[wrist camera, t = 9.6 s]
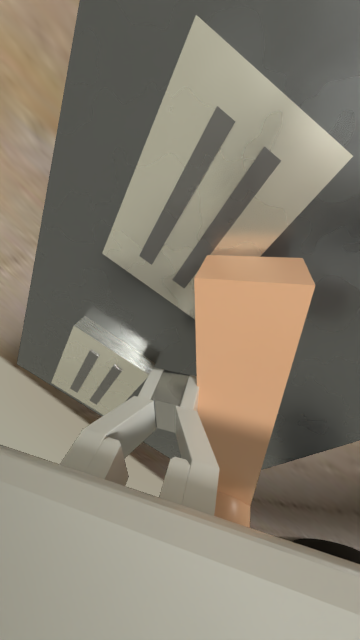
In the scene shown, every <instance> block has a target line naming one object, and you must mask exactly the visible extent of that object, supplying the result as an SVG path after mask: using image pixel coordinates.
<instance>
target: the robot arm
mask: <svg viewBox="0 0 360 640" xmlns="http://www.w3.org/2000/svg"><path fill="white" fill-rule="evenodd" d="M198 395H199V387H198V386H197V376H193V375H188V374H183V373H178V372H173V371H168V370H164V369H159V368H155V367H154V368H153V369H152V370H151V371H150V373H149V375H148V377H147V379H146V381H145V383H144V385H143V387H142V389H141V391H140V393H139V395H138V397H137V396H133V397H132V398H130V399H129V400H127V401H126V402H124V403H122V404H121V405H119V406H118V407H116V408H115V409H113V410H112V411H110V412H108V413H107V414H105V415H104V416H102V417H101V418H99V419H98V420H96V421H94V422H93V423H91V424H90V425H88V426H87V427H85V428H84V429H83V430H82V431H81V433H80V435H79V436H78V437H77V439H76V440H75V442H74V443H73V445H72V447H71V448H70V449H69V451H68V452H67V454H66V456H65V457H64V459H63V460H62V462H61V463H60V464H57V463H53V462H51V461H48V460H45V459H42V458H39V457H36V456H33V455H30V454H27V453H24V452H21V451H18V450H15V449H12V448H9V447H6V446H3V445H0V640H360V564H357V563H354V562H351V561H348V560H345V559H342V558H339V557H336V556H333V555H330V554H327V553H324V552H321V551H318V550H315V549H312V548H309V547H306V546H303V545H300V544H297V543H294V542H291V541H288V540H285V539H282V538H279V537H276V536H273V535H270V534H267V533H264V532H261V531H258V530H255V529H252V528H249V527H246V526H243V525H240V524H237V523H234V522H231V521H228V520H225V519H222V518H219V517H216V516H214V513H215V504H216V495H217V486H218V478H219V469H220V468H219V466H218V463H217V461H216V458H215V456H214V453H213V451H212V448H211V445H210V443H209V440H208V438H207V435H206V433H205V430H204V427H203V425H202V422H201V420H200V417H199V415H198V409H197V408H198ZM156 428H159V429H163V430H167V431H170V432H174V433H176V437H177V442H178V446H179V450H180V454H181V458H178V457H173V458H172V459H170V462H169V465H168V469H167V472H166V475H165V479H164V482H163V486H162V489H161V492H160V496H159V497H156V496H153V495H150V494H147V493H144V492H141V491H138V490H135V489H132V488H129V487H126V486H125V485H126V482H127V480H128V477H129V476H128V472H127V468H126V464H125V460H124V459H125V458H126V457H127V456H128V455H129V454H130V453H131V452H132V451H133V450H134V449H135V448H136V447H138V446H139V445H140V444H141V443H142V442H143V441H144V440H145V439H146V438H147V437H148V436H149V435H150V434H152V433H153V432H154V431H155V430H156Z"/></svg>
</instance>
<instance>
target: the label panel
mask: <svg viewBox="0 0 360 640" xmlns="http://www.w3.org/2000/svg"><path fill="white" fill-rule="evenodd" d="M207 255H224V256H256V257H287V258H303V260H304V262H305V264H306V266H307V268H308V270H309V272H310V275H311V277H312V279H313V281H314V283H315V289H314V292H313V295H312V299H311V302H310V306H309V309H308V312H307V316H306V319H305V322H304V326H303V329H302V333H301V336H300V339H299V343H298V346H297V350H296V353H295V356H294V360H293V363H292V366H291V370H290V373H289V377H288V380H287V383H286V387H285V390H284V394H283V397H282V400H281V404H280V407H279V410H278V414H277V417H276V421H275V424H274V427H273V431H272V434H271V438H270V441H269V444H268V448H267V451H266V454H265V458H264V461H263V465H262V468H261V470H263V469H266V468H269V467H273V466H276V465H279V464H283V463H286V462H289V461H293V460H296V459H299V458H303V457H306V456H309V455H313V454H316V453H319V452H323V451H326V450H329V449H333V448H336V447H339V446H343V445H346V444H349V443H353V442H356V441H359V440H360V0H80V3H79V8H78V14H77V20H76V26H75V32H74V37H73V43H72V49H71V55H70V60H69V66H68V72H67V78H66V83H65V89H64V95H63V101H62V107H61V112H60V118H59V124H58V130H57V135H56V141H55V147H54V153H53V158H52V164H51V170H50V176H49V182H48V187H47V193H46V199H45V205H44V210H43V216H42V222H41V228H40V234H39V239H38V245H37V251H36V257H35V262H34V268H33V274H32V280H31V285H30V291H29V297H28V303H27V309H26V314H25V320H24V326H23V332H22V337H21V343H20V349H19V355H18V360H17V364H18V365H19V366H21V367H23V368H24V369H26V370H27V371H29V372H31V373H32V374H34V375H36V376H37V377H39V378H40V379H42V380H44V381H45V382H47V383H49V384H50V385H52V386H53V387H55V388H57V389H58V390H60V391H62V392H63V393H65V394H66V395H68V396H70V397H71V398H73V399H75V400H76V401H78V402H79V403H81V404H83V405H84V406H86V407H88V408H89V409H91V410H92V411H94V412H96V413H97V414H99V415H101V416H104V415H105V414H107V413H108V412H110V411H112V410H113V409H115V408H116V407H118V406H119V405H121V404H122V403H124V402H126V401H127V400H129V399H130V398H132V397H133V396H137V397H138V395H139V393H140V391H141V389H142V387H143V385H144V383H145V381H146V379H147V377H148V375H149V373H150V371H151V370H152V369H153V368H154V367H155V368H159V369H164V370H168V371H173V372H178V373H183V374H188V375H193V376H197V368H196V328H195V288H194V278H195V276H196V274H197V272H198V271H199V269H200V267H201V265H202V263H203V262H204V260H205V258H206V256H207ZM143 442H144V443H146V444H148V445H149V446H151V447H153V448H154V449H156V450H157V451H159V452H161V453H162V454H164V455H165V456H167V457H169V458H170V459H172V458H173V457H178V458H181V454H180V450H179V446H178V442H177V437H176V433H174V432H170V431H167V430H163V429H159V428H156V430H155V431H154V432H153V433H152V434H150V435H149V436H148V437H147V438H146V439H145V440H144V441H143Z"/></svg>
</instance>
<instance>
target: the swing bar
mask: <svg viewBox="0 0 360 640" xmlns="http://www.w3.org/2000/svg"><path fill="white" fill-rule="evenodd" d="M194 288H195V328H196V368H197V386H198V387H199V395H198V408H197V409H198V415H199V417H200V420H201V422H202V425H203V427H204V430H205V433H206V435H207V438H208V440H209V443H210V445H211V448H212V451H213V453H214V456H215V458H216V461H217V463H218V466H219V468H220V469H219V478H218V486H217V495H216V504H215V513H214V516H216V517H219V518H222V519H225V520H228V521H231V522H234V523H237V524H240V525H243V526H246V527H249V528H250V505H251V502H252V498H253V495H254V492H255V488H256V485H257V482H258V478H259V475H260V471H261V468H262V465H263V461H264V458H265V454H266V451H267V448H268V444H269V441H270V438H271V434H272V431H273V427H274V424H275V421H276V417H277V414H278V410H279V407H280V404H281V400H282V397H283V394H284V390H285V387H286V383H287V380H288V377H289V373H290V370H291V366H292V363H293V360H294V356H295V353H296V350H297V346H298V343H299V339H300V336H301V333H302V329H303V326H304V322H305V319H306V316H307V312H308V309H309V306H310V302H311V299H312V295H313V292H314V289H315V283H314V281H313V279H312V277H311V275H310V272H309V270H308V268H307V266H306V264H305V262H304V260H303V258H287V257H256V256H224V255H207V256H206V258H205V260H204V262H203V263H202V265H201V267H200V269H199V271H198V272H197V274H196V276H195V278H194Z"/></svg>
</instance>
